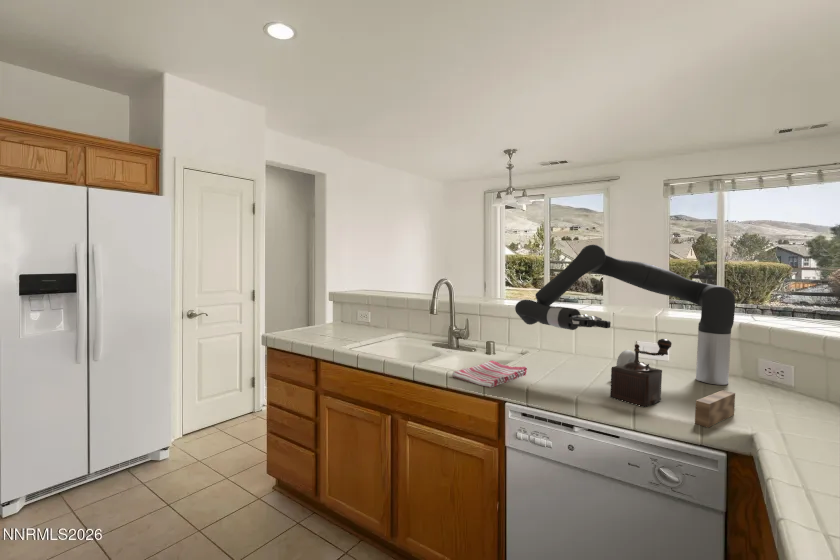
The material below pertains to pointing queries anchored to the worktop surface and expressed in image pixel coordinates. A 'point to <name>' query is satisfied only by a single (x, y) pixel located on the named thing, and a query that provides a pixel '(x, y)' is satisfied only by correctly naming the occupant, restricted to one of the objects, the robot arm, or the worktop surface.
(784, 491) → the worktop surface
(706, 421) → the block
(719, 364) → the robot arm
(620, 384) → the manual coffee grinder
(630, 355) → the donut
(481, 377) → the dish towel
